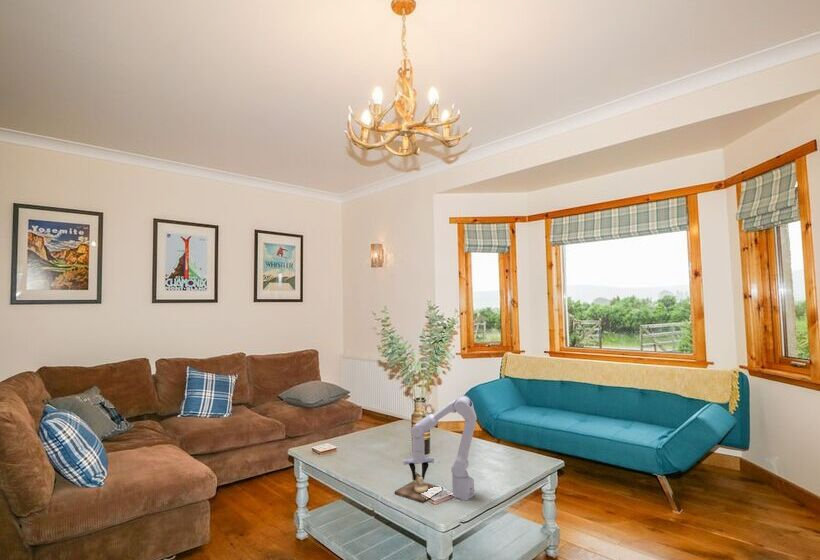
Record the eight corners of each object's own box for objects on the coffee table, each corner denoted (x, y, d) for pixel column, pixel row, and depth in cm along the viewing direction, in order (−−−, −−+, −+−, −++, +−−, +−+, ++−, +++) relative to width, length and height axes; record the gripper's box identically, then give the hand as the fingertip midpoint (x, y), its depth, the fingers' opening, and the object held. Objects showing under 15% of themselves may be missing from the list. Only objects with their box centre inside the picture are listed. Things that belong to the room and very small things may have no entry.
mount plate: (442, 490, 209) (442, 487, 209) (423, 503, 196) (423, 500, 196) (415, 482, 218) (415, 479, 218) (394, 494, 205) (394, 491, 206)
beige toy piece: (430, 492, 204) (430, 478, 204) (417, 495, 201) (417, 481, 201) (419, 483, 214) (419, 470, 214) (407, 485, 211) (407, 472, 211)
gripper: (431, 445, 216) (431, 474, 215) (401, 447, 213) (402, 476, 213) (434, 450, 209) (435, 480, 208) (404, 452, 206) (404, 482, 206)
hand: (418, 479), depth 210 cm, fingers open, 3 cm apart
